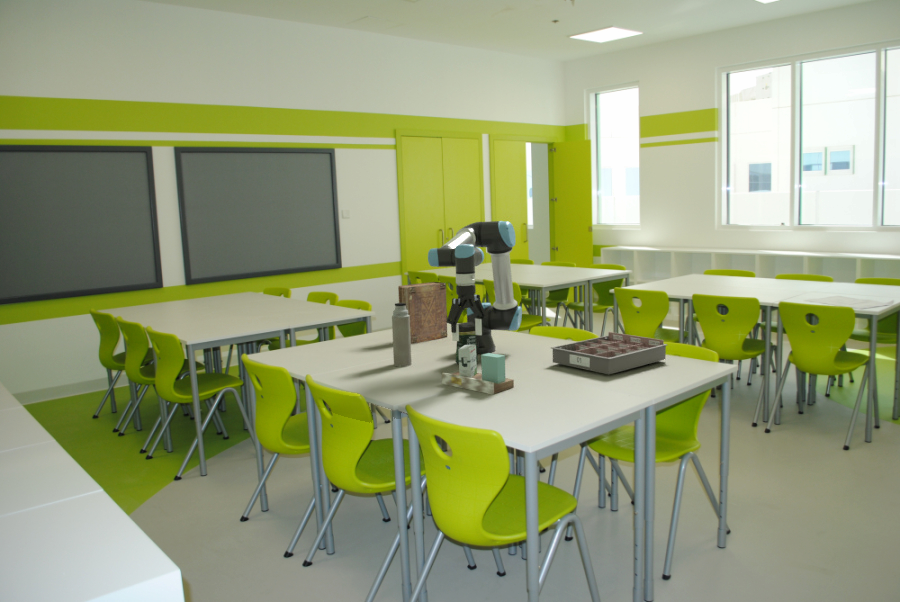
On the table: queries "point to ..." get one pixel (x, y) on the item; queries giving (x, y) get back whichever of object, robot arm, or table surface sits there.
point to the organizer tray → (610, 353)
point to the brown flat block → (476, 383)
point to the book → (425, 310)
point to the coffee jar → (466, 337)
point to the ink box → (467, 361)
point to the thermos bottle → (401, 335)
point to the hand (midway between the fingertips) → (467, 337)
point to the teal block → (493, 367)
